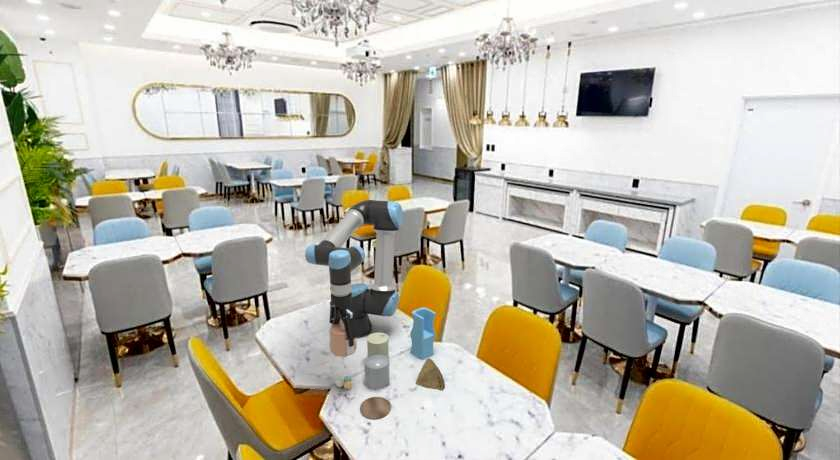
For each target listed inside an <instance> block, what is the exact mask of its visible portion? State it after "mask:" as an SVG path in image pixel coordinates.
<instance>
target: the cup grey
mask: <svg viewBox="0 0 840 460" xmlns="http://www.w3.org/2000/svg"><path fill="white" fill-rule="evenodd" d="M389 382H390V360H389V359H388V358H387V357H386V356H384V355H372V356H370V357H368V356H367V358H366V359H365V361H364V385H365V386H366V387H368V388H369V390H379V391H380V390H382V389H385V388H386V387H388V386H389Z"/></svg>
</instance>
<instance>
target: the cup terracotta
mask: <svg viewBox="0 0 840 460" xmlns="http://www.w3.org/2000/svg"><path fill="white" fill-rule="evenodd" d="M328 332H329V347H330V353H331V354H332V355H333V356H335V357H344V358H346V357H349V356H351V355H353V354H355V352H356V350H357V348H358V346H357V345H358V344H357V338H355V339H354V352H353V353H351V354H348V355H347V350H346V338H347V335H346V331H345V327H344V324H343V322H342V321H340V322H338V323H335V324H333V325H332V324H331V326H330V328H329V331H328Z"/></svg>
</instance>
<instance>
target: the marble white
mask: <svg viewBox="0 0 840 460" xmlns="http://www.w3.org/2000/svg"><path fill="white" fill-rule="evenodd" d="M344 383H345V382H344V379H342V378H338V379H336V381H335V385H336V387H338V388H341V387H344Z"/></svg>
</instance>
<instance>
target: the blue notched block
mask: <svg viewBox="0 0 840 460" xmlns="http://www.w3.org/2000/svg"><path fill="white" fill-rule="evenodd" d="M411 313H412V321H413V322H412V327H411V330H410V332H409V335H410V340H411V349H410V351H409V353H410V354H412V356H414V357H416V358H418V359H419V360H421V361H422V360H423V361H424V360H427V359H428V358H431V357H432V356H433V355H434V354H435V353H434V341H435V339H436V334H437V333H436V332H435V328H434V320H435V317H436V312H435V311H433V310H431V309H430V308H427V307H419V308H417V309H414V310H413V311H412V312H411Z"/></svg>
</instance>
